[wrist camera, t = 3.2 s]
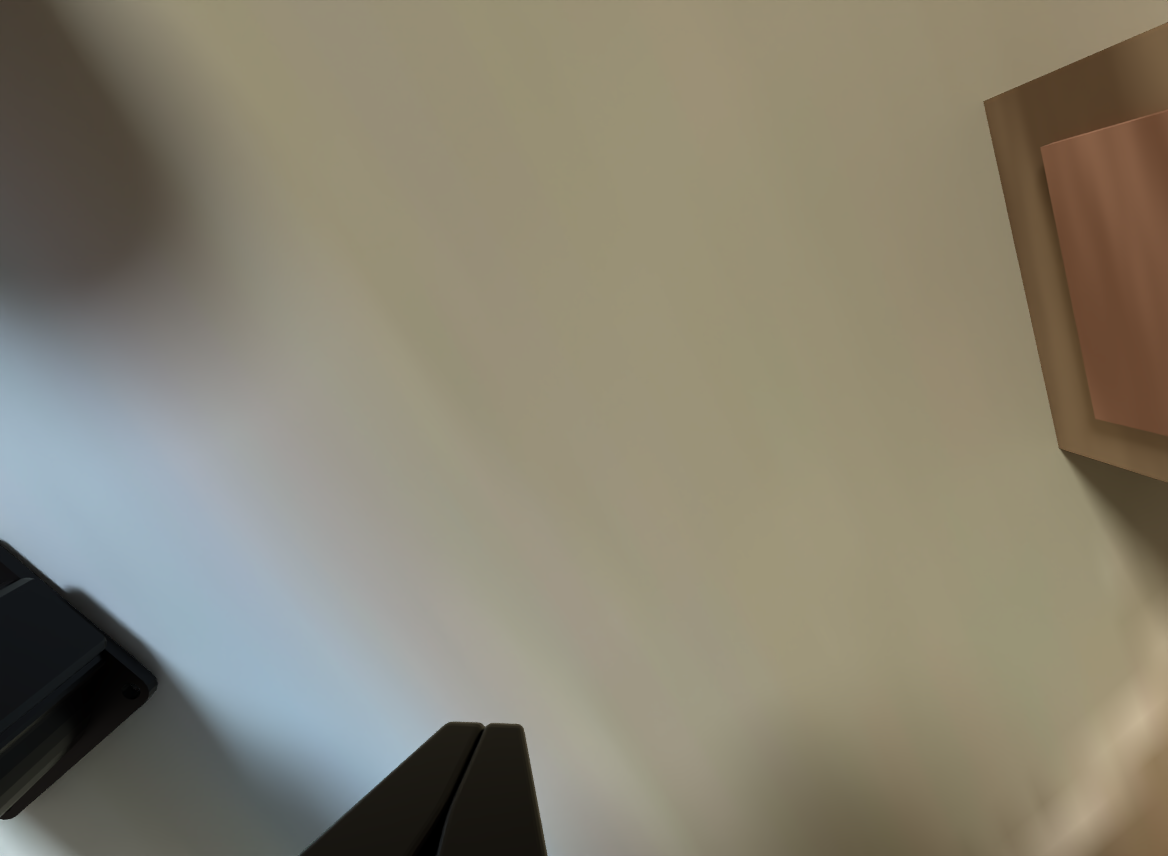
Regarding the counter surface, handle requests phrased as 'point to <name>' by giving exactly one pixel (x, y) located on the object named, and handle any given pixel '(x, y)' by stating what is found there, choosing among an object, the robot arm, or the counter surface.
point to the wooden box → (1095, 243)
